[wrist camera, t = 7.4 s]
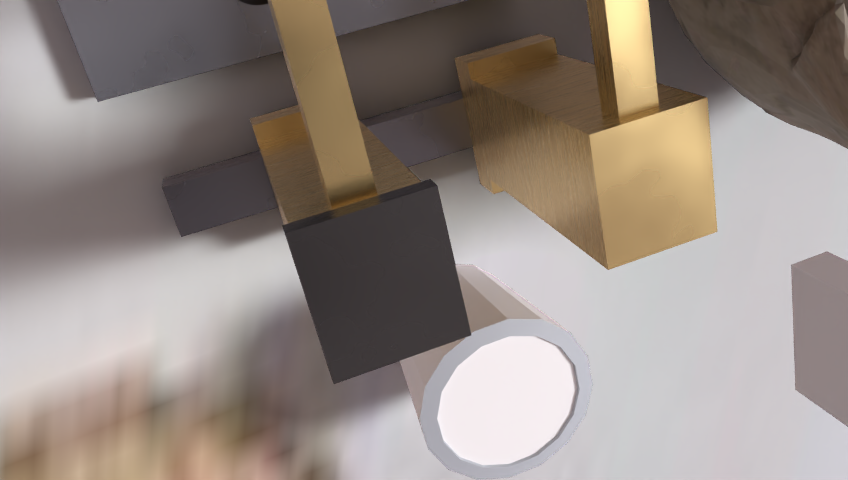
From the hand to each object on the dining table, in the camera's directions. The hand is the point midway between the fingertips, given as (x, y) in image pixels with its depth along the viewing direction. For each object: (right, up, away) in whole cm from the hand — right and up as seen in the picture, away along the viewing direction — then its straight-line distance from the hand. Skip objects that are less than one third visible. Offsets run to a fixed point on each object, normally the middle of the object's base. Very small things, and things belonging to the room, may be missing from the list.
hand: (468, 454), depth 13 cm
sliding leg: (-6, +9, +15) cm, 18 cm away
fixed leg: (+2, +12, +16) cm, 20 cm away
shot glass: (0, 0, +22) cm, 22 cm away
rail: (-3, +7, +18) cm, 20 cm away
